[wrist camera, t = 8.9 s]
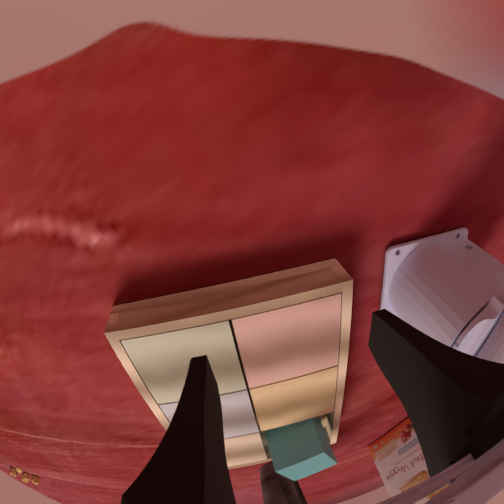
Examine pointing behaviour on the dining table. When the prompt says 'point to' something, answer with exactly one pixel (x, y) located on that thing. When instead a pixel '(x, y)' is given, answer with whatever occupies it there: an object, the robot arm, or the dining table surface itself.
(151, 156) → the dining table surface
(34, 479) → the popcorn pieces
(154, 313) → the puzzle board
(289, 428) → the teal block
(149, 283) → the dining table surface
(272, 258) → the dining table surface
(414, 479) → the cracker box
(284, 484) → the beverage cup
